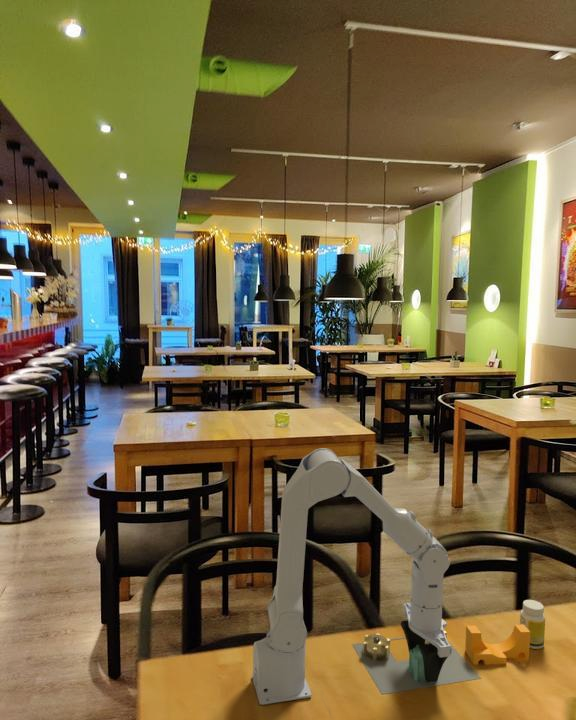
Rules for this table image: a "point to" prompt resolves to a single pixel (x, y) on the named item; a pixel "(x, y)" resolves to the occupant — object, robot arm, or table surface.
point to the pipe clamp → (498, 646)
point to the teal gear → (416, 664)
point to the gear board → (406, 666)
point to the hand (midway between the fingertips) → (423, 670)
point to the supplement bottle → (534, 622)
